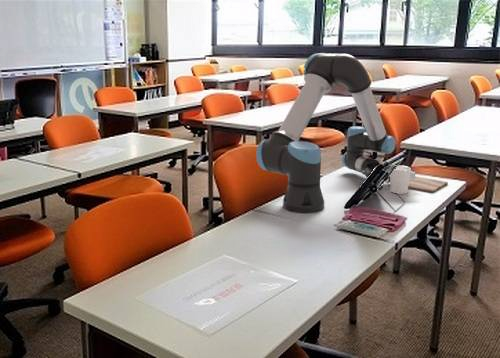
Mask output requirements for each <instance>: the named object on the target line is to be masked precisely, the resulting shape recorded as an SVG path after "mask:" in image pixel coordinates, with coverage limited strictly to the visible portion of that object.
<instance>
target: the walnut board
mask: <svg viewBox="0 0 500 358" xmlns="http://www.w3.org/2000/svg"><path fill="white" fill-rule="evenodd" d="M448 183H449V182H448V181H445V180H444V181H443V180H437V179H431V178H427V177H420V176H416V175H415V179H411V178H410V180H409V186H408V189H410V190H414V191H415V190H416V191H419V192H420V191H421V192H427V193H430V194H434V193H436V192H437V191H439V190H440V189H442V188H443V187H445V186H447V185H448Z"/></svg>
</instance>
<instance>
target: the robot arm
mask: <svg viewBox="0 0 500 358" xmlns="http://www.w3.org/2000/svg"><path fill="white" fill-rule="evenodd" d="M370 77H371V76H370V75H369V72H368V71H367V69H366V68H365V66H364V65H363V63H362V62H360V61H359V60H358V59H357V58H356V57H355V56H353V55H352V54H348V53H326V52H320V53H313V54H312V55H310V56H309V57H308V58H307V60H306V61H305V63H304V67H303V78H304V79H303V80H304V82H305V83H304V85H303V86H302V88H301V90H300V91H299V94H298V95H297V97H296V99H295V100H294V102H293V104H292V106H291V108H289V111H288V113H287V115H286V117H285V118H284V120H283V122H282V124H281V125H280V127H279V128H278V130H276V131H273V132H272V133H271V135H270V136H269V139H264V140H261V141H260V142H259V143H258V146H257V147H256V154H255V156H256V163H257V164H258V166H259V167H260V168H261V169H262V170H264V171H268V172H269V173H275V174H280V175H284V176H287V188H286V190H285V194H284V197H283V199H282V207H283V209H285V210H287V211H291V212H294V213H301V214H302V213H303V214H304V213H306V214H308V213H315V212H320V211H322V210H324V209H325V198H324V195H323V193H322V189H321V188H322V187H321V170H322V169H321V168H322V156H321V155H322V152H321V148H320V147H319V146H318V145H317V144H315V143H313V142H309V141H303V140H300V138H301V137H302V135H303V133H304V131H305V129H306V128H307V126H308V124H309V122H310V121H311V119H312V116H313V115H314V113H315V111H316V109H317V108H318V106H319V104H320V102H321V100H322V98H323V97H324V95H325V94H326V93H329V92H331V90H332V88H333V87H334V85H342V86H343V87H345V88H346V89H347V90H346V91H347V92H348V93H349V94H351V96H352V98H353V101H354V104H355V106H356V109H357V111H358V114H359V116H360V119H361V122H362V124H363V126H364V127H363V126H358V125H357V126H355V125H354V126H350V127H348V129H347V136H346V138H347V141H346V152H345V153H344V154H343V155H342V157H341V163H342V165H343V166H344V167H345V168H347V169H349V170H352V171H355V172H358V173H361V174H362V175H363V176H365V177H366V178H367V177H368V176H369V175H370V174H371V172H372V171H373V169H374V168H375V167H376V166H378V165H379V164H380V165H381V163H380V162H379V161H378V160H377V159H375V158H371V157H369V156H365V155H364V153H365V151H367V152H375V153H379V154H389V155H390V154H392V153H393V152H394V150H395V148H396V145H397V142H396V141H397V140H396V138H395V137H394V136H391V135H388V134H387V131H386V128H385V125H384V123H383V120H382V117H381V113H380V111H379V108H378V106H377V103H376V102H377V101H376V100H375V97H374V94H373V91H372V89H371V85H372V80H371V78H370ZM415 176H416V172H415V171H412V170H411V172H410V178H411V179H415ZM384 184H389V178H388V179H387V180H386V182H385V183H384Z"/></svg>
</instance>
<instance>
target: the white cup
mask: <svg viewBox="0 0 500 358" xmlns="http://www.w3.org/2000/svg"><path fill="white" fill-rule="evenodd" d="M397 165H398V164H397ZM397 165H396V166H397ZM411 171H412V168H411V167H410V166H406V165H398V166H397V167H396V169H394V170H393V172H392V173H391V175H390V174H389V192H390V191H391V192H395V193H397V194H396V195H407V194H408V192H409V191H408V189H409V188H408V186H409V180H410V172H411ZM391 192H390V193H391Z"/></svg>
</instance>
